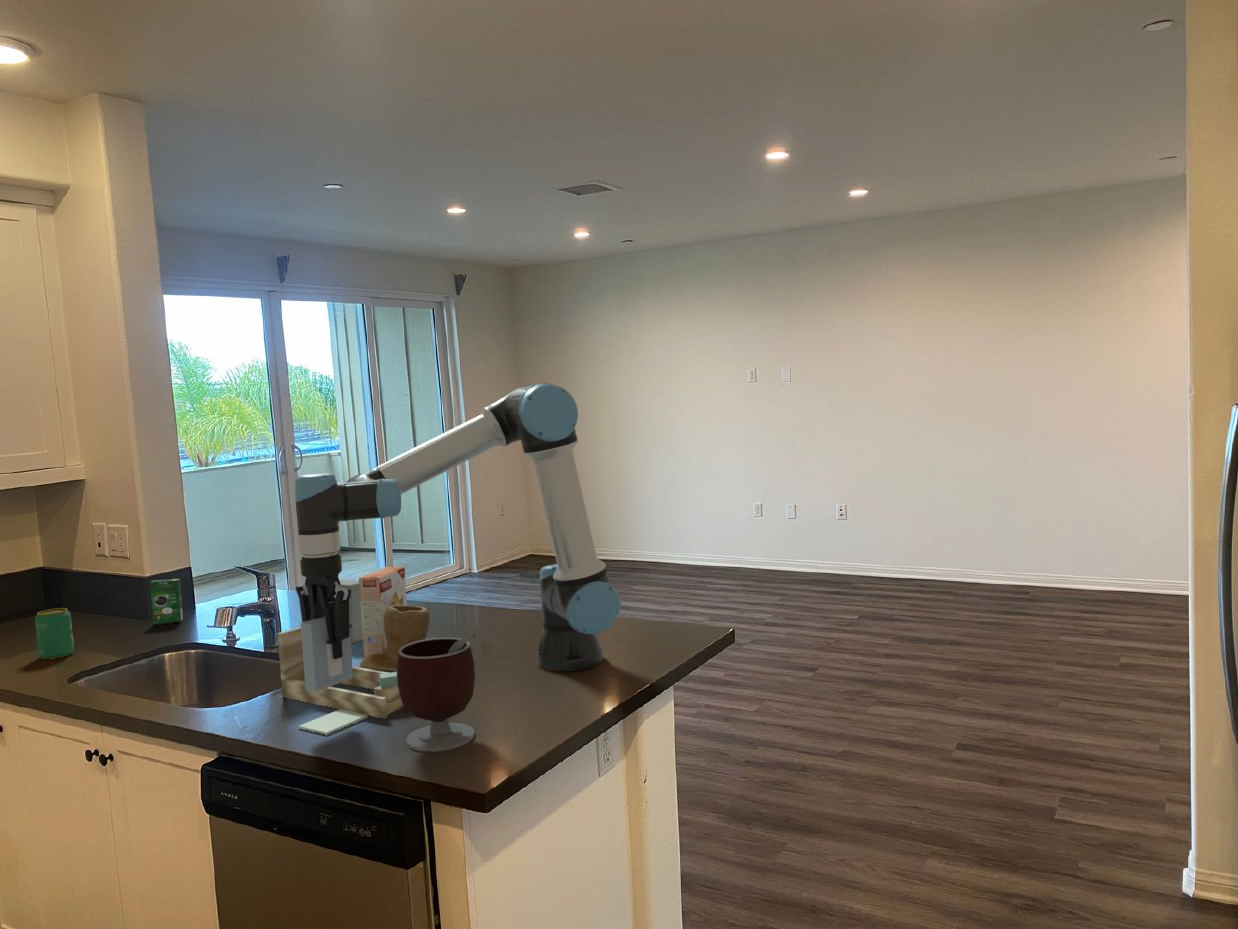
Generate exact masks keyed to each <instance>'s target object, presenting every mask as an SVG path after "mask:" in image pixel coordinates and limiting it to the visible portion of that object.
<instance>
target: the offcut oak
mask: <svg viewBox="0 0 1238 929" xmlns="http://www.w3.org/2000/svg"><path fill="white" fill-rule="evenodd" d="M401 707H402V708H404V707H403V703H402V700H401V698H399V699H397V700H395V701H393V702H391V703H387V713H388V715H390V714H391V713H390V712H392V711H394V712H396V711H398V710H400V709H402V708H401ZM399 708H400V709H399ZM397 709H398V710H397ZM395 710H396V711H395ZM389 713H390V714H389ZM392 713H393V712H392Z"/></svg>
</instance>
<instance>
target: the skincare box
mask: <svg viewBox="0 0 1238 929" xmlns="http://www.w3.org/2000/svg"><path fill="white" fill-rule="evenodd" d="M339 581H340V583H341V587H343V588H344V589H350V590H351V595H350V599H349V627H350V640H351V645H352V644H353V645H354V644H355V643H359V642H360V641H363V640H362V639H363V636H362V620H361V604H360V587H359V580H356V579H343V578H342V579H339ZM328 603H330V602H328Z"/></svg>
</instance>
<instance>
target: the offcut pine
mask: <svg viewBox="0 0 1238 929" xmlns="http://www.w3.org/2000/svg"><path fill="white" fill-rule="evenodd" d="M373 695H376V696H381V697H386V701H387V703H391V702H393V701H395V700H397V699H399V698H401V697H400V693H399V689H398V686H391V687H385V688H381V686H378V687H376V688H374V690H373Z"/></svg>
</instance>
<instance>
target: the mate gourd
mask: <svg viewBox="0 0 1238 929" xmlns="http://www.w3.org/2000/svg"><path fill="white" fill-rule="evenodd" d="M475 638H476V633H471V634H468V635H467V636H465V637H463V638H460V637H435V638H434V637H433V638H427V639H426V638H425V640H420V641H416V642H412V643H409V644H407V645H404V646H403V647H401V648H400V649H399V651H398V653H399V655H398V661H397V683H398V689H399V693H400V697H401V700H402V703H403V706H404V707H403V708H405V709H406V710H407V711H408V712H409V713H410V715H411V716H412V717H414V718H416V719H420V720H421V719H422V720H426V721H431V724H429V725H426V726H423V727H419V728H418V729H414V730H413V731H412V732H410V733H409V734H408V735H407V737H406V741H405V742H406V746H407V747H408V748H409V749H411V748H412V749H411V750H413V749H414V750H413V751H416V752H417V750H418V752H423V751H424V752H425V751H426V752H425V753H430V751H431V753H434V752H444V751H449V750H453V749H457V748H460V747H462V746H464V745H467V744H468V743H470V742H471V741H472V740H473V739H474V738H475V730H474V727H472V726H471V725H468V724H466V723H465V724H464V723H460V722H448V719H450V718H452V717H454V716H456V715H459V714H460V713H462V712H463V711H465V710H466V708H467V707H468V704H470V701H471V700H472V699H473V697H474V696H473V695H474V690H475V683H476V682H475V680H476V669H475V668H476V667H475V661H474V656H473V651H472V648H471V643H470V642H469V640H471V639H475ZM428 751H429V752H428Z"/></svg>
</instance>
